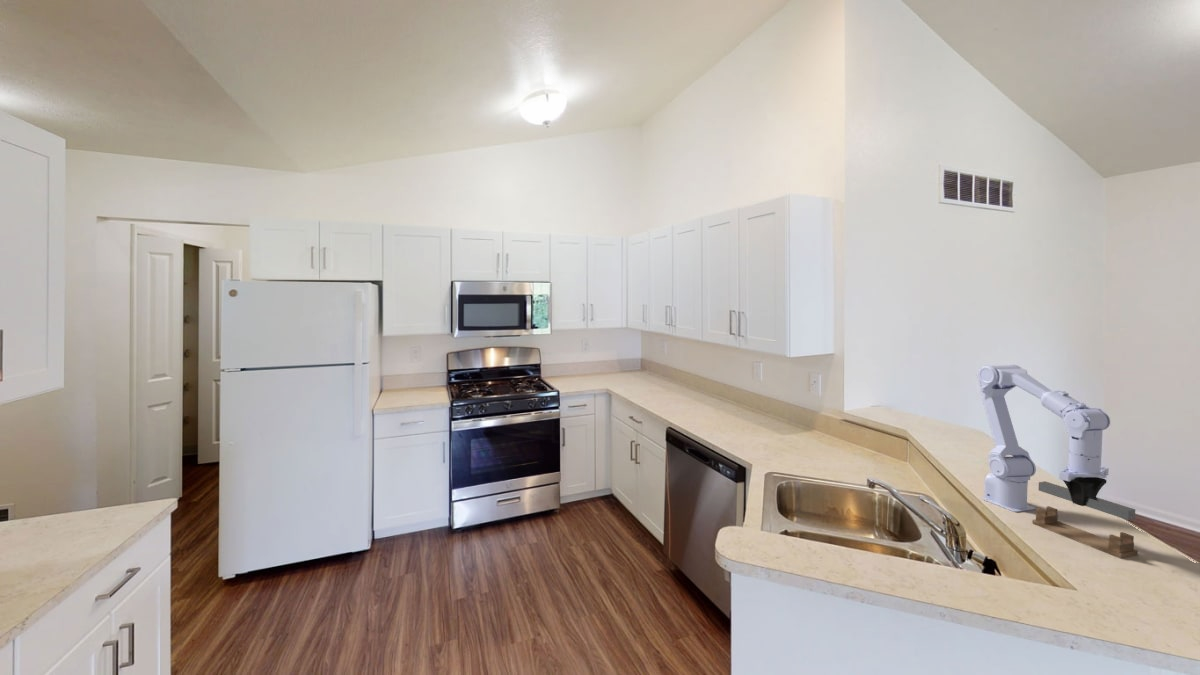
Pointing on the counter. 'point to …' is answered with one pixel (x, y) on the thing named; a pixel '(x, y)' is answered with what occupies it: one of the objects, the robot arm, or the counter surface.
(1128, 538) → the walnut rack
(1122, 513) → the graphite rail
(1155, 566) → the counter surface
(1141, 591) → the counter surface
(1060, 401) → the robot arm
